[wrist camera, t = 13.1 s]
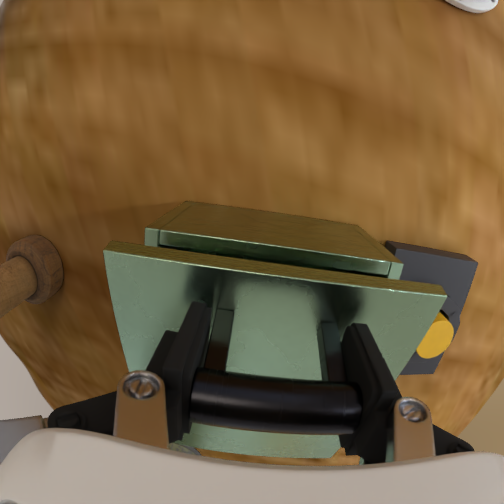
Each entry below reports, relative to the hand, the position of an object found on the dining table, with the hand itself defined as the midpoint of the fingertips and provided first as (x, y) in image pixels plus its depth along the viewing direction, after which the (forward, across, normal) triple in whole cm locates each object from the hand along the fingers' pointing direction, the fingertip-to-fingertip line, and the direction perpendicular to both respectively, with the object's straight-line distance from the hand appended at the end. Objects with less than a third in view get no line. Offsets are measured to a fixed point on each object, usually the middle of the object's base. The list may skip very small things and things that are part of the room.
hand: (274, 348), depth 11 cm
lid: (+3, 0, +5) cm, 6 cm away
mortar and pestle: (+13, +22, +6) cm, 26 cm away
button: (+10, -14, +4) cm, 18 cm away
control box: (+14, -14, +4) cm, 20 cm away
